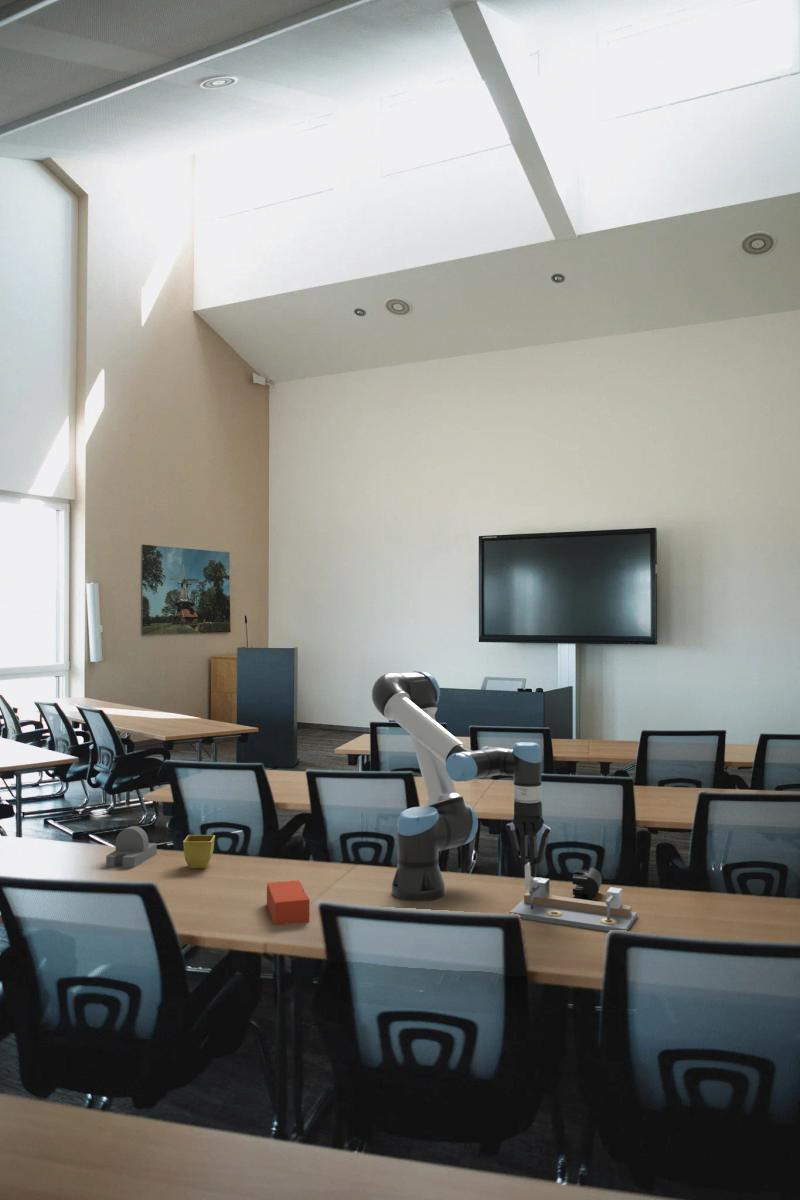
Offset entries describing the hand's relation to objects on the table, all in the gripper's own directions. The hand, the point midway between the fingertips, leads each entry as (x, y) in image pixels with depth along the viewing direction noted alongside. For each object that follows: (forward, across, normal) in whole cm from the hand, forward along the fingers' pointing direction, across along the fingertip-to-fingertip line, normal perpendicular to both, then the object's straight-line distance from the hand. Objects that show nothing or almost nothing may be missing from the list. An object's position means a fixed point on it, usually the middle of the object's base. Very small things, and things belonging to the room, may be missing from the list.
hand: (529, 887), depth 238 cm
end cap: (+5, +12, +16) cm, 20 cm away
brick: (+5, -56, -33) cm, 65 cm away
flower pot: (+4, -106, -8) cm, 106 cm away
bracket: (+4, -131, -11) cm, 132 cm away
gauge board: (+5, +13, -3) cm, 14 cm away
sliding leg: (+3, +3, -3) cm, 5 cm away
